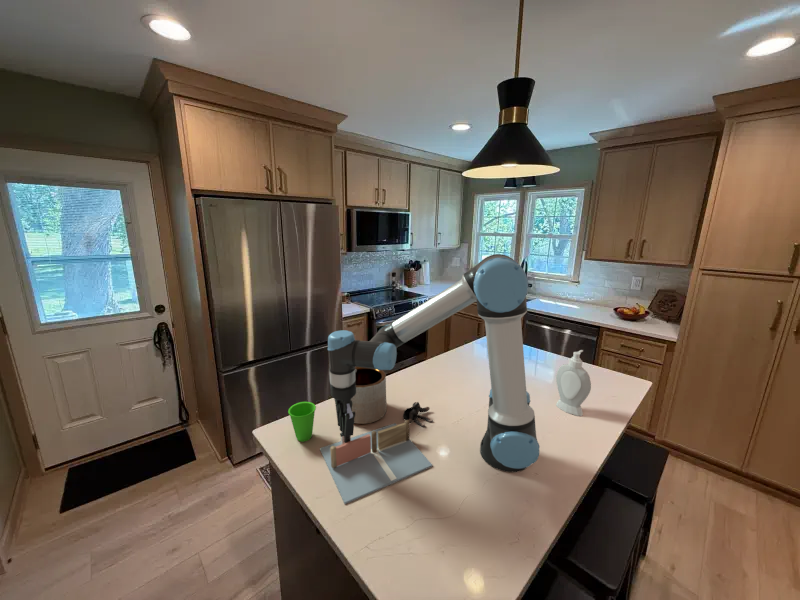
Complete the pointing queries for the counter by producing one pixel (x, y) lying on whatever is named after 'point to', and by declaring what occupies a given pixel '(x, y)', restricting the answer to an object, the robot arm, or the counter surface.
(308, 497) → the counter surface
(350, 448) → the hinged fence panel
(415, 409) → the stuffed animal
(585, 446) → the counter surface
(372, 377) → the planter
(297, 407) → the cup
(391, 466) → the card
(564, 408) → the soap bottle
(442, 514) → the counter surface
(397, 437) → the fixed fence panel
